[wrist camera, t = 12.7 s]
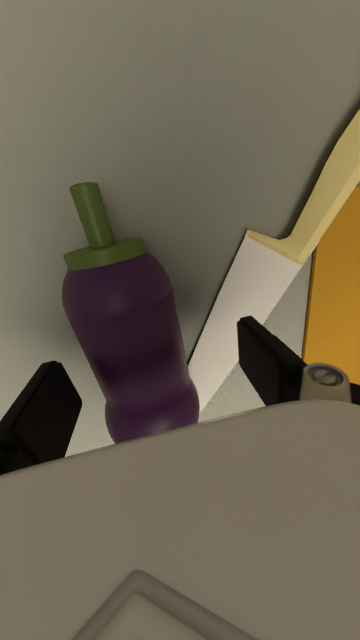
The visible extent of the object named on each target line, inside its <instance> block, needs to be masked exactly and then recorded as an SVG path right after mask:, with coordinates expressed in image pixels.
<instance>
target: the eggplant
mask: <svg viewBox="0 0 360 640" xmlns="http://www.w3.org/2000/svg"><path fill="white" fill-rule="evenodd" d="M70 192H71V195H72V198H73V200H74V203H75V206H76V209H77V212H78V215H79V217H80V220H81V223H82V226H83V229H84V231H85V234H86V237H87V240H88V243H89V245H90V247H87V248H83V249H79V250H76V251H72V252H69V253H66V254H64V255H63V257H64V259H65V262H66V264H67V267H68V271H67V273H66V276H65V279H64V281H63V288H62V300H63V306H64V309H65V312H66V315H67V318H68V320H69V322H70V324H71V326H72V328H73V330H74V332H75V335H76V337H77V339H78V341H79V343H80V345H81V347H82V349H83V352H84V354H85V356H86V358H87V360H88V362H89V364H90V366H91V369H92V371H93V373H94V375H95V377H96V379H97V381H98V383H99V386H100V388H101V390H102V392H103V394H104V396H105V398H106V405H105V419H106V425H107V428H108V431H109V434H110V436H111V438H112V439H113V441H114V442H115V444H117V443H121V442H125V441H129V440H133V439H136V438H140V437H144V436H148V435H152V434H156V433H160V432H164V431H168V430H172V429H176V428H179V427H183V426H187V425H191V424H195V423H197V422H198V418H199V409H200V405H199V396H198V393H197V389H196V387H195V385H194V383H193V381H192V379H191V378H190V376H189V371H188V366H187V361H186V356H185V351H184V347H183V342H182V337H181V332H180V327H179V322H178V317H177V312H176V308H175V303H174V298H173V293H172V288H171V284H170V281H169V278H168V276H167V274H166V272H165V270H164V268H163V267H162V266H161V264H160V263H159V262H158V261H157V260H156V259H155V258H154V257H153V256H152V255H151V254H149V253H148V252H147V251H146V250H145V246H144V242H143V239H142V238H132V239H126V240H120V241H115V239H114V236H113V232H112V229H111V226H110V222H109V219H108V216H107V212H106V209H105V206H104V202H103V199H102V196H101V192H100V189H99V186H98V184H97V183H94V182H86V183H79V184H75V185H72V186H71V187H70Z"/></svg>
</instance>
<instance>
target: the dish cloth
mask: <svg viewBox="0 0 360 640" xmlns="http://www.w3.org/2000/svg"><path fill="white" fill-rule="evenodd" d="M302 360H303V361H304V362H305V363H307V364H311V363H326V364H330V365H333V366H335V367H338V368H339V369H341V370H342V371H344V372H345V373H346V374H347V376H348V378H349V382H351V383H355V384H359V385H360V185H359V186H356V187H355V188H354V190H353V191H352V193H351V194H350V196H349V197H348V199H347V200H346V202H345V203H344V205H343V206H342V208H341V209H340V211H339V212H338V213H337V215H336V216H335V218H334V219H333V221H332V222H331V224H330V225H329V227H328V228H327V230H326V231H325V233H324V234H323V236H322V237H321V238H320V242H319V243H318V244H317V246H316V247H315V249H314V253H313V262H312V271H311V281H310V290H309V299H308V308H307V317H306V327H305V336H304V345H303V354H302Z"/></svg>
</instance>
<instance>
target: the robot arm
mask: <svg viewBox="0 0 360 640" xmlns="http://www.w3.org/2000/svg"><path fill="white" fill-rule="evenodd" d="M237 337H238V354H239V364H240V366H241V368H242V370H243V371H244V373H245V374H246V376H247V378H248V379H249V381H250V382H251V384H252V385H253V387H254V388H255V390H256V391H257V393H258V395H259V396H260V398H261V399H262V401H263V402H264V404H265V405H266V406H265V407H261V408H257V409H252V410H248V411H244V412H240V413H235V414H231V415H227V416H223V417H219V418H215V419H211V420H207V421H203V422H199V423H195V424H191V425H187V426H183V427H179V428H176V429H172V430H168V431H164V432H160V433H156V434H152V435H148V436H144V437H140V438H136V439H133V440H129V441H125V442H121V443H117V444H113V445H109V446H106V447H102V448H98V449H94V450H90V451H86V452H83V453H79V454H75V455H71V456H67V457H65V454H66V451H67V448H68V445H69V442H70V439H71V436H72V434H73V431H74V428H75V425H76V422H77V419H78V416H79V413H80V410H81V407H82V400H81V398H80V396H79V394H78V392H77V390H76V389H75V387H74V385H73V383H72V381H71V380H70V378H69V376H68V374H67V373H66V371H65V369H64V367H63V365H62V364H61V363H58V362H57V361H51V362H47V363H43V364H41V366H40V367H39V368H38V370H37V371H36V373H35V374H34V375H33V377H32V378H31V379H30V381H29V382H28V384H27V385H26V386H25V388H24V389H23V390H22V392H21V393H20V395H19V396H18V397H17V399H16V400H15V402H14V403H13V404H12V406H11V407H10V408H9V410H8V411H7V413H6V414H5V415H4V417H3V418H2V419H1V421H0V640H360V385H359V384H355V383H351V382H349V378H348V376H347V374H346V373H345V372H344V371H342V370H341V369H339V368H338V367H335V366H333V365H330V364H326V363H311V364H307V363H305V362H304V361H303V360H302V359H301V358H300V357H299V356H298V355H296V354H295V353H294V352H293V351H292V350H291V349H290V348H289V347H287V346H286V345H285V344H284V343H283V342H282V341H281V340H280V339H278V338H277V337H276V336H275V335H273V334H271V333H270V332H269V331H268V330H267V329H266V328H265V327H264V326H263V325H261V324H260V323H259V322H258V321H257V320H256V319H255V318H254V317H253V316H251V315H250V316H246V317H242V318H240V321H237Z"/></svg>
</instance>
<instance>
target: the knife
mask: <svg viewBox="0 0 360 640" xmlns="http://www.w3.org/2000/svg"><path fill="white" fill-rule="evenodd" d="M359 181H360V109H359V111H358V112H357V114H356V115H355V117H354V118H353V119H352V121H351V122H350V124H349V125H348V127H347V128H346V130H345V131H344V133H343V134H342V136H341V137H340V139H339V140H338V142H337V144H336V146H335V147H334V149H333V151H332V153H331V155H330V157H329V158H328V160H327V162H326V164H325V166H324V168H323V170H322V172H321V175H320V177H319V179H318V181H317V183H316V185H315V187H314V189H313V192H312V194H311V196H310V197H309V199H308V201H307V203H306V205H305V207H304V209H303V211H302V213H301V215H300V217H299V219H298V221H297V223H296V225H295V227H294V229H293V231H292V233H291V235H290V236H288V237H287V238H285V239H281V240H278V239H275V238H272V237H269V236H266V235H263V234H260V233H257V232H254V231H251V230H247V232H246V234H245V238H244V240H243V242H242V244H241V246H240V248H239V251H238V253H237V255H236V257H235V259H234V262H233V264H232V266H231V268H230V270H229V272H228V275H227V277H226V279H225V281H224V283H223V285H222V288H221V290H220V292H219V295H218V297H217V299H216V302H215V304H214V306H213V309H212V311H211V313H210V315H209V318H208V320H207V322H206V325H205V327H204V329H203V332H202V334H201V337H200V339H199V341H198V344H197V346H196V348H195V351H194V353H193V355H192V358H191V360H190V363H189V365H188V371H189V376H190V378H191V379H192V381H193V383H194V385H195V387H196V389H197V393H198V396H199V405H200V409H199V414H200V412H201V411H202V410H203V409H204V407H205V406H206V405H207V403H208V402H209V401H210V399H211V398H212V397H213V395H214V394H215V393H216V391H217V390H218V389H219V387H220V386H221V385H222V383H223V382H224V380H225V379H226V377H227V376H228V375H229V373H230V372H231V370H232V369H233V367H234V366H235V364H236V363H237V362H238V360H239V354H238V337H237V321H240V318H242V317H246V316H250V315H251V316H253V317H254V318H255V319H256V320H257V321H258V322H259V323H260V324H261V325H263V324H264V322H265V321H266V319H267V318H268V316H269V315H270V313H271V312H272V310H273V309H274V307H275V306H276V304H277V303H278V301H279V300H280V298H281V297H282V295H283V294H284V293H285V291H286V290H287V288H288V287H289V285H290V284H291V282H292V281H293V279H294V278H295V276H296V275H297V273H298V272H299V270H300V269H301V267H302V266H303V264H304V263H305V261H306V260H307V259H308V257H309V256H310V254H311V253H312V251H313V250H314V249H315V247H316V246H317V244H318V243H319V242H320V238H321V237H322V236H323V234H324V233H325V231H326V230H327V228H328V227H329V225H330V224H331V222H332V221H333V219H334V218H335V216H336V215H337V213H338V212H339V211H340V209H341V208H342V206H343V205H344V203H345V202H346V200H347V199H348V197H349V196H350V194H351V193H352V191H353V190H354V188H355V187H356V185H357V184H358V183H359Z"/></svg>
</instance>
